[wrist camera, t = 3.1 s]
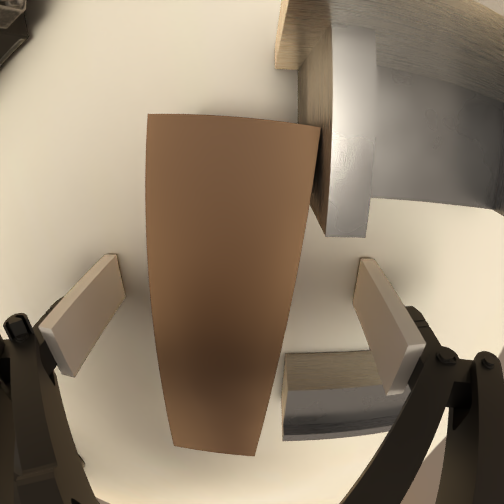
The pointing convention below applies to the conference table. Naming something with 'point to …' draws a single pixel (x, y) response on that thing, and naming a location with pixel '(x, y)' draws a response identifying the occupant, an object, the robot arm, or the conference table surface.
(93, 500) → the robot arm
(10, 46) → the camera
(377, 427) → the rest block
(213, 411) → the rail
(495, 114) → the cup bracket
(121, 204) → the conference table surface
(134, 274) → the conference table surface
